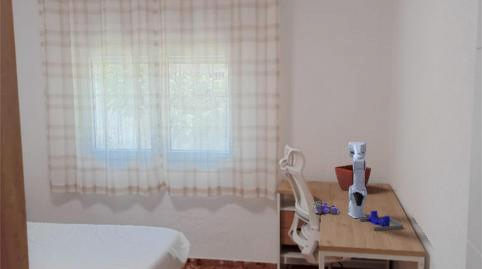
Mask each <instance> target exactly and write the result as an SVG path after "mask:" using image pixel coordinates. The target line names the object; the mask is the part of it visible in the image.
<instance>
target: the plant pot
mask: <svg viewBox="0 0 482 269" xmlns="http://www.w3.org/2000/svg"><path fill="white" fill-rule="evenodd" d="M364 170H365V187H366V188H367V186H368V183H369V179H370V175H371V171H372V167H368V166H366V169H364ZM334 171H335V176H336V178H337V182H338V185H339V188H340V190H343V191H347V192H349V188H350V186H352V185H353V184H354V172H353V164H347V165H340V166H339V165H338V166H335V167H334Z"/></svg>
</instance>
